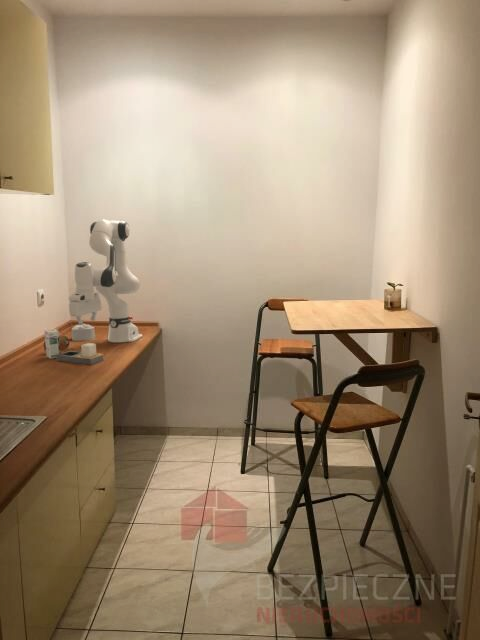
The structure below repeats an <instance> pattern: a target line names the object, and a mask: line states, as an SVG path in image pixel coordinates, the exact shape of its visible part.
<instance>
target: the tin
mask: <svg viewBox="0 0 480 640" xmlns="http://www.w3.org/2000/svg"><path fill="white" fill-rule="evenodd" d="M59 340H60V352H63V351H64V352H65V351H66V350H68V348H69V346H70V339H69V338H68V336H66V335H59ZM43 349H44V351H45V352H46V343H45V341H44V342H43Z"/></svg>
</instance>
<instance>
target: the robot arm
mask: <svg viewBox="0 0 480 640" xmlns="http://www.w3.org/2000/svg"><path fill="white" fill-rule="evenodd" d="M89 228H90V229H89V232H90V233H89V234H90V237H89V246H90V248H91V249H92V250H93V251H94V252H95V253H97V254H98V255H101V256H104V257H106V264H105V265H106V266H104V267H92V263H91V262H87V261H83V262H78V263H76V264H75V266H74V282H75V291H74V292H73V293H72V294H71V295H69V296H68V300H69V304H68V308H69V315H70V316H71V317H75V318H76V320H77V325H82V324H84V320H83V319H82V316H83V315H87V314H91V317H90V321H91V322H92V321H93V322H94V321H96V316H97V314H98V313H97V312H98V311H101V310H102V308H103V307H102V301H101V297H100V295H102V297H103V298H104V299H105V301H106V302H107V305H108V311H109V318H108V322H109V325H108V337H107V340H108V342H110V343H127V342H129V343H131V342H135V341H137V340H138V339H140V338H142V337H143V334H141V333H139V328H138V326H136V325H135V324H134V323H132V321H131V320H133V319H134V317H133V315H132V316H131V315H130V316H129V313H130V312H129V305H128V302H127V301H126V300H123V299H121V298H119V296H118V295H129V294H134V293H137V292H138V291H139V290H140V286H141V284H140V280H139V278H138V277H137V276H135V275H134V274H133V273H132V272H131V270H130V269H129V267H128V264H127V263H128V262H127V255H126V253H127V252H126V243H125V241H126V240H127V239H128V237H129V236H130V226H129V223H127V221H124V220H106V219H99V220H97V221H94V222H92V224H91V225H90V227H89ZM116 272H117V274H116ZM95 290H96V291H97V292H95ZM99 294H100V295H99Z"/></svg>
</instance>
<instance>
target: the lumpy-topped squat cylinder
mask: <svg viewBox="0 0 480 640" xmlns="http://www.w3.org/2000/svg"><path fill="white" fill-rule="evenodd" d="M95 335H96V332H95V326H93V325H90V324H86V323H83V324H76V325H74V326H72V328H71V340H72V342H84V341H85V342H86V341H92V340H95V339H96V338H95V337H96V336H95Z"/></svg>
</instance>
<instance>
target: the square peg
mask: <svg viewBox="0 0 480 640" xmlns="http://www.w3.org/2000/svg"><path fill="white" fill-rule="evenodd" d="M81 352H82V357H89V358H91V357H93V356H96V353H97V344H96V343H92V342H91V343H89V342H87V343H84V344H81Z"/></svg>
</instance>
